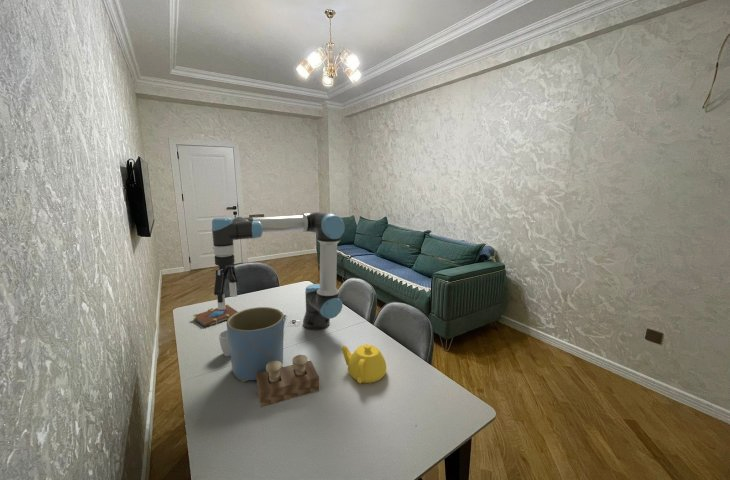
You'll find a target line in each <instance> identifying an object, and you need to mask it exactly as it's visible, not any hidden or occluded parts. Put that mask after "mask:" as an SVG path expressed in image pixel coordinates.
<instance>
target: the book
mask: <svg viewBox="0 0 730 480" xmlns="http://www.w3.org/2000/svg"><path fill="white" fill-rule="evenodd" d="M225 307H226V309H218V307H217V308H213V307H211V308H209V309H207V310H206V311H203V312H200V313H195V314H192V316H193V317H194V318H193V321H196V322H197V323H198V324H199V325H201V326H202V327H203V328H208V327H211V326H214V325H218V324H220V323H222V322H225V321H227V320H228V318H229V317H231V316H232V315H233V314H235V313H237V312H238V310H235V309H234V308H233V307H232V306H230V305H229V304H225Z"/></svg>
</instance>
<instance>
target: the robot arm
mask: <svg viewBox="0 0 730 480" xmlns="http://www.w3.org/2000/svg"><path fill="white" fill-rule="evenodd" d="M345 227H346V226H345V223H344V220H343V219H342V218H341V217H340V216H339V215H336V214H334V213H330V212H326V211H325V212H324V211H316V212H315V211H314V212H306V213H301V214H300V215H281V216H280V215H279V216H275V215H274V216H256V217H255V216H253V217H243V216H235V217H234V218H231V217H223V216H222V217H215V218H213V219H212V220H211V231H212V232H211V233H212V243H213V247H212V249H213V252H214V257H213V258H214V264H215V265H216V266H218V267H219V269H217V270H215V282H214V289H213V290H214V291H213V295H214V296H216V297H217V298H216V300H217V301H216V302H217V308H218V309H226V307H225V305H226V297H225V293H224V292H225V287H226V281H227V280H228V281H229V283H228V286H229V287H228V288H229V297H233V298H235V297H238V296H237V295H238V292H237V283H239V282H238V281H239V279H238V274H237V271H236V268H235V267H236V266H235V261H236V260H235V255H234V254H235V248H234V241H235V240H236V241H237V240H248V239H249V240H250V239H257V238H261V237H262V236H263V233H273V232H274V233H275V232H277V233H278V232H289V231H290V232H292V231H294V232H295V231H302V232H305V233H306V232H310V233H315V234H316V237H317V238H316V239H317V242H319V248H320V249H319V283H315V284H309V285H307V286H306V287H305V294H304V295H305V313H304V316H303V320H302V325H303V327H304V328H305V329H307V330H313V331H314V330H316V331H317V330H323V329H326V328H327V327H328V326H330V323H331V319H334V318H336V317H337V316H338V315H339V314H340V313H341V312H342V311H343V306H344V305H343V301H342V300H341V299H340V290H339V289H338V288H337V272H338V271H337V264H338V244H339V242H341V237H342V236H343V235H344V232H345Z"/></svg>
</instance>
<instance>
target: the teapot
mask: <svg viewBox="0 0 730 480" xmlns="http://www.w3.org/2000/svg"><path fill="white" fill-rule="evenodd" d="M341 351H342V354H343V357H344V361H345V365H346V366H347V371H348V373H349V376H351V378H352V379H354V380H355V381H356V382H357V383H358V384H373V383H376V382H378V381H379V380H381V379H382V378H384V376H385V374H386V372H387V364H386V359H385V357H384V355H383V354H382V351H381V350H380V349H379V348H378V347H377V346H375V345H372V344H361V345H359V346H358V347H357V348H355V350H354V351H353V353H351V351H350V349H349V348H348V347H347V346H345V345H342V346H341ZM362 382H363V383H362ZM372 382H373V383H372Z"/></svg>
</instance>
